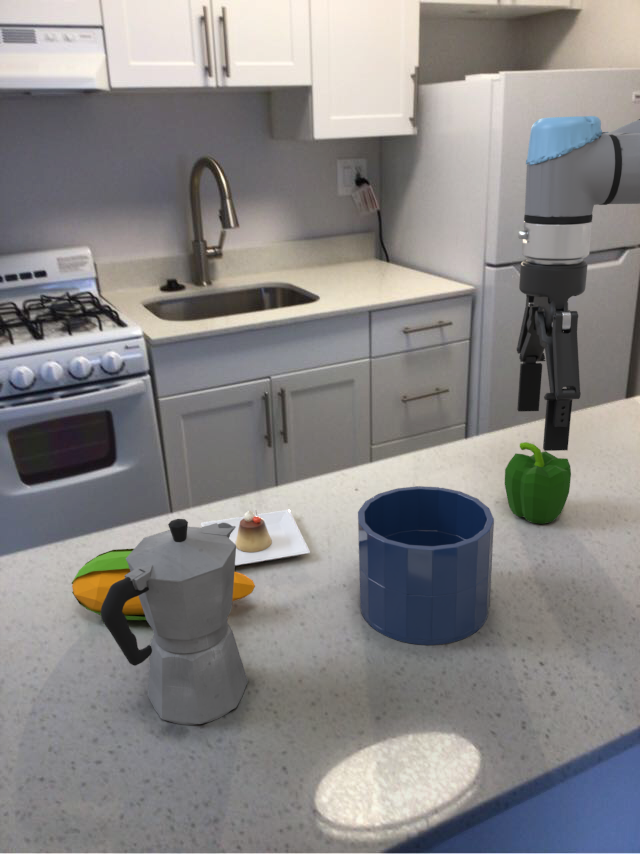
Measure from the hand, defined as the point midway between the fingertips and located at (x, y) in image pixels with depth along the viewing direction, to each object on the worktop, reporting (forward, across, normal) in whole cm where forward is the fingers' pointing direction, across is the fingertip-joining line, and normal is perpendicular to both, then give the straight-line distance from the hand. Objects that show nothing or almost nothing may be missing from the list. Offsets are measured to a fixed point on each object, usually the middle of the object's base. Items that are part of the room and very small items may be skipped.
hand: (540, 428), depth 96 cm
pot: (+12, +20, -17) cm, 29 cm away
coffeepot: (+13, +34, -40) cm, 54 cm away
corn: (+13, +20, -45) cm, 51 cm away
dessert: (+13, +6, -37) cm, 39 cm away
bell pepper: (+12, 0, 0) cm, 13 cm away
